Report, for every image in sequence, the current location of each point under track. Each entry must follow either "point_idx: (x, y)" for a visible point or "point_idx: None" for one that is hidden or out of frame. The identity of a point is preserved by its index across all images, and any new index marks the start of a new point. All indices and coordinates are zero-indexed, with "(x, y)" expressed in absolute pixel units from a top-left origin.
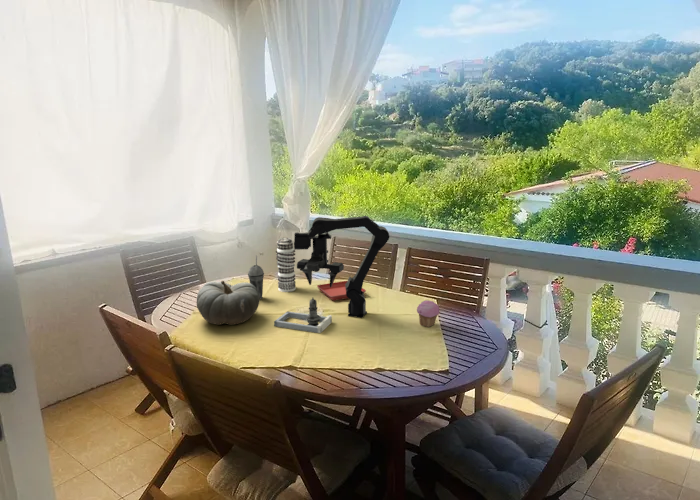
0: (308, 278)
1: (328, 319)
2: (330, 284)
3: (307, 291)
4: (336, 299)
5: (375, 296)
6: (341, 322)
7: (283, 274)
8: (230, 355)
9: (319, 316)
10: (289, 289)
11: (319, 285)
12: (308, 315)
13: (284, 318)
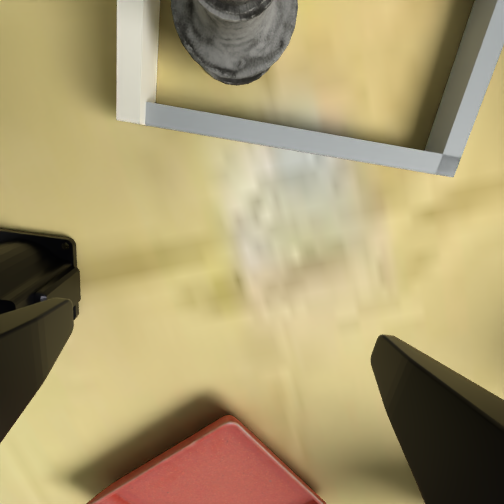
0: (473, 397)
1: (120, 48)
2: (23, 313)
3: (374, 479)
4: (212, 423)
5: (49, 489)
6: (73, 133)
7: None
8: None
9: (186, 31)
10: None
11: None
12: (284, 38)
13: (453, 88)
